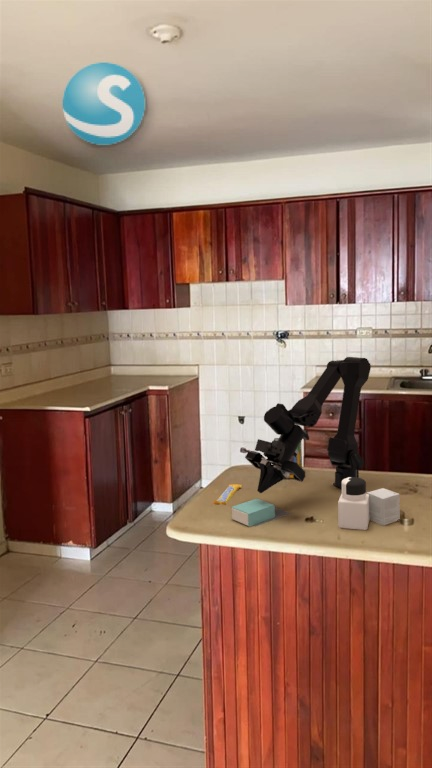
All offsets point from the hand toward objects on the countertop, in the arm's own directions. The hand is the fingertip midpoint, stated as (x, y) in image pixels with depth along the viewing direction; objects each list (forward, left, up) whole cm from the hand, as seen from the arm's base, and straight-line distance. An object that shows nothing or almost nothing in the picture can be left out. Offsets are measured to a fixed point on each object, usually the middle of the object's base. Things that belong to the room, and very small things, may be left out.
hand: (259, 492), depth 165 cm
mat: (-1, 0, -7) cm, 7 cm away
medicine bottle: (-17, +18, -7) cm, 26 cm away
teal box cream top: (-2, 0, -5) cm, 5 cm away
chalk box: (-27, -26, -7) cm, 39 cm away
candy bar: (-1, -20, -8) cm, 21 cm away
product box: (-25, +20, -7) cm, 33 cm away
